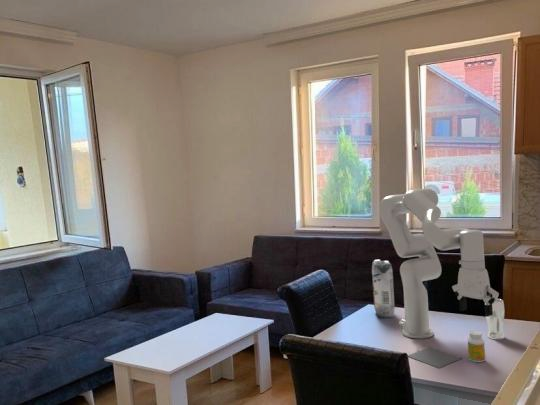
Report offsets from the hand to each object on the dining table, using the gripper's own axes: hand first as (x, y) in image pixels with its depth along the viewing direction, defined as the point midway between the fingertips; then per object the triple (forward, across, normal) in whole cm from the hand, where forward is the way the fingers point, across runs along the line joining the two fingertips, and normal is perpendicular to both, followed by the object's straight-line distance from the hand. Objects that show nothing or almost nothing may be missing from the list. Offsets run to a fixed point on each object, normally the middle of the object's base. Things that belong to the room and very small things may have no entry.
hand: (475, 312), depth 160 cm
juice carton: (+16, -59, +15) cm, 63 cm away
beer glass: (+17, -9, +25) cm, 32 cm away
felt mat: (+17, -12, -9) cm, 22 cm away
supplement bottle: (+17, -1, 0) cm, 17 cm away
